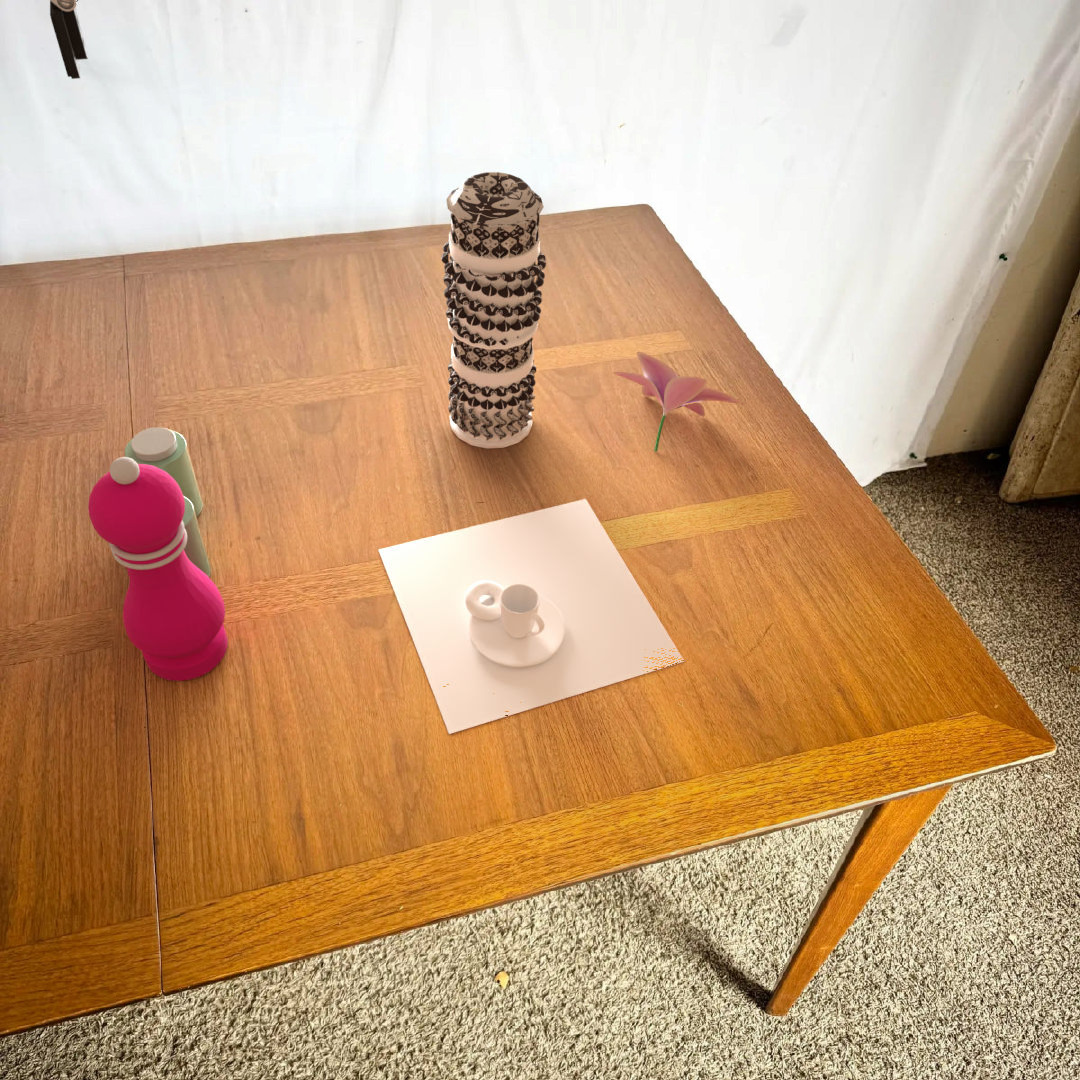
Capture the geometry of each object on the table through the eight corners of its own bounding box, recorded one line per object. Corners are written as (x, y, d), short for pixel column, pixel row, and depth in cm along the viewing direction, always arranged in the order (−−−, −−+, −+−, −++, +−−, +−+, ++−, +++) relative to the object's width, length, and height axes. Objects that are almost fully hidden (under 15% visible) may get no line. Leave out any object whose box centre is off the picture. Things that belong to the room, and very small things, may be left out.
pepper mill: (236, 610, 79) (184, 420, 65) (232, 682, 74) (175, 494, 60) (144, 618, 78) (70, 428, 63) (133, 692, 73) (51, 504, 59)
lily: (743, 461, 97) (763, 366, 94) (670, 467, 89) (689, 363, 86) (652, 434, 105) (668, 345, 102) (578, 437, 97) (593, 341, 94)
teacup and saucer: (452, 600, 81) (451, 568, 78) (540, 577, 83) (542, 545, 80) (487, 682, 75) (488, 650, 72) (580, 654, 78) (584, 622, 75)
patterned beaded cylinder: (459, 458, 93) (456, 219, 75) (435, 401, 99) (427, 166, 81) (548, 442, 96) (566, 206, 78) (519, 387, 102) (530, 156, 84)
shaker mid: (144, 597, 79) (118, 530, 74) (156, 553, 83) (132, 485, 77) (206, 596, 80) (185, 529, 74) (215, 552, 83) (196, 484, 77)
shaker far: (139, 528, 85) (115, 460, 79) (151, 489, 88) (129, 421, 82) (197, 527, 85) (178, 460, 79) (207, 489, 89) (189, 421, 83)
